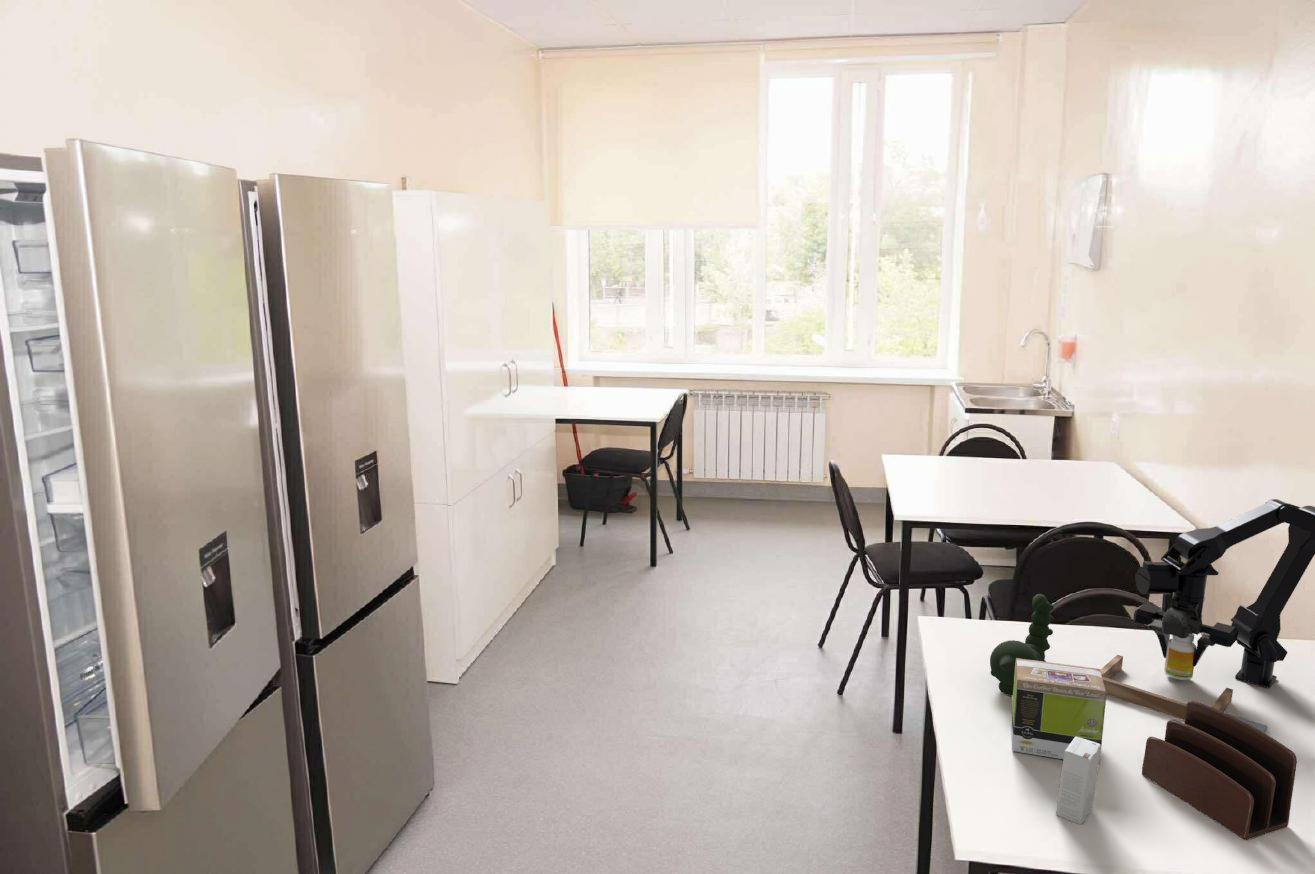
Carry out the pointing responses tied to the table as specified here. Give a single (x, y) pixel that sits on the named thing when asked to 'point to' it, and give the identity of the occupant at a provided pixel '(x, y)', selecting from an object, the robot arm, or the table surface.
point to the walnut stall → (1150, 698)
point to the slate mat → (1252, 723)
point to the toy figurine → (1023, 646)
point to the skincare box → (1078, 779)
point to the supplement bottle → (1180, 657)
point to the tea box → (1055, 707)
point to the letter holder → (1224, 770)
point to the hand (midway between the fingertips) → (1179, 661)
